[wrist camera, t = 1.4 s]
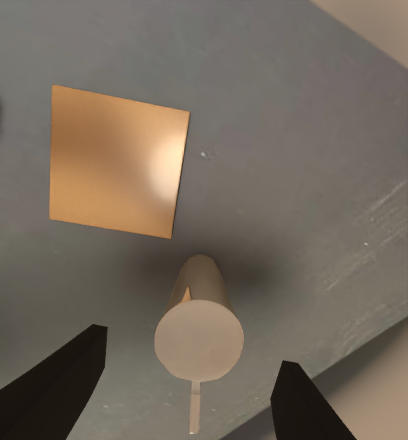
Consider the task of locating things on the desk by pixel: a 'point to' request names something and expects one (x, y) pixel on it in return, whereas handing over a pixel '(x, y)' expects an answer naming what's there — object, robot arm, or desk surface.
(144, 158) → the coaster
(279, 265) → the desk surface
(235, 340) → the milkshake
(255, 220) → the desk surface
